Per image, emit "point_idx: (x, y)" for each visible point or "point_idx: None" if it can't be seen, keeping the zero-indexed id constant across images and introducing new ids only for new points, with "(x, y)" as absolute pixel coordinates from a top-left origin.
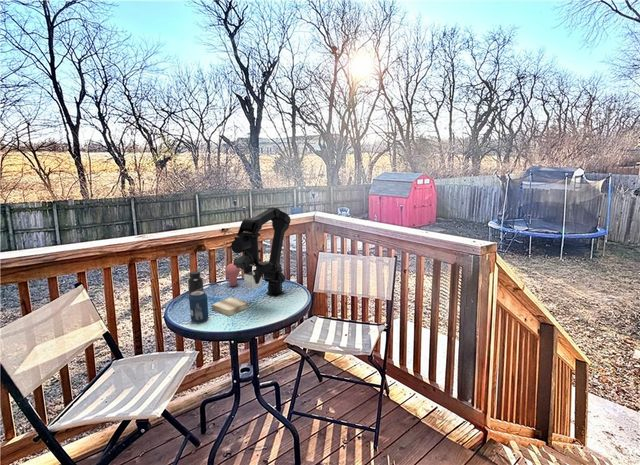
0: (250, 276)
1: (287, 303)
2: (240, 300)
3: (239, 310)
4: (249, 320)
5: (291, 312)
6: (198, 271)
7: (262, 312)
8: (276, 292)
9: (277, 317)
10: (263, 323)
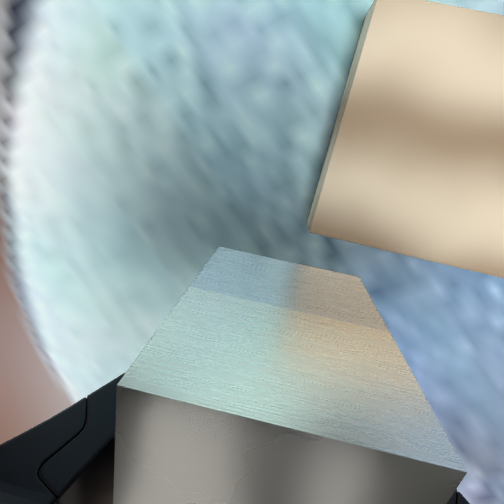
0: (181, 372)
1: (133, 351)
2: (393, 241)
3: (332, 137)
4: (170, 33)
5: (37, 258)
6: None
7: (177, 192)
8: None
9: (52, 165)
10: (58, 38)
